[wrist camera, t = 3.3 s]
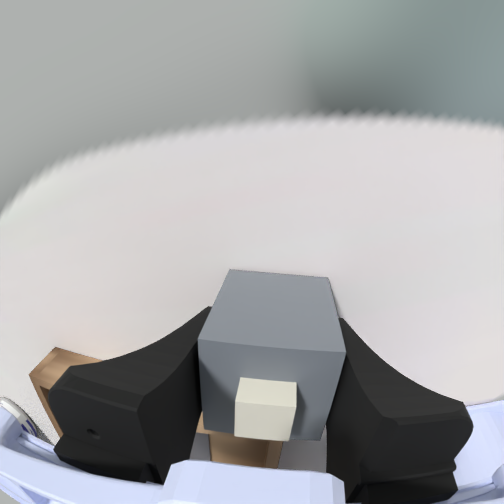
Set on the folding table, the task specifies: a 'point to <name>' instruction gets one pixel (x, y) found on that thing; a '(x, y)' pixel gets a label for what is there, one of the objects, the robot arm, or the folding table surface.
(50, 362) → the caddy
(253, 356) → the plug
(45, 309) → the folding table surface
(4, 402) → the energy drink
